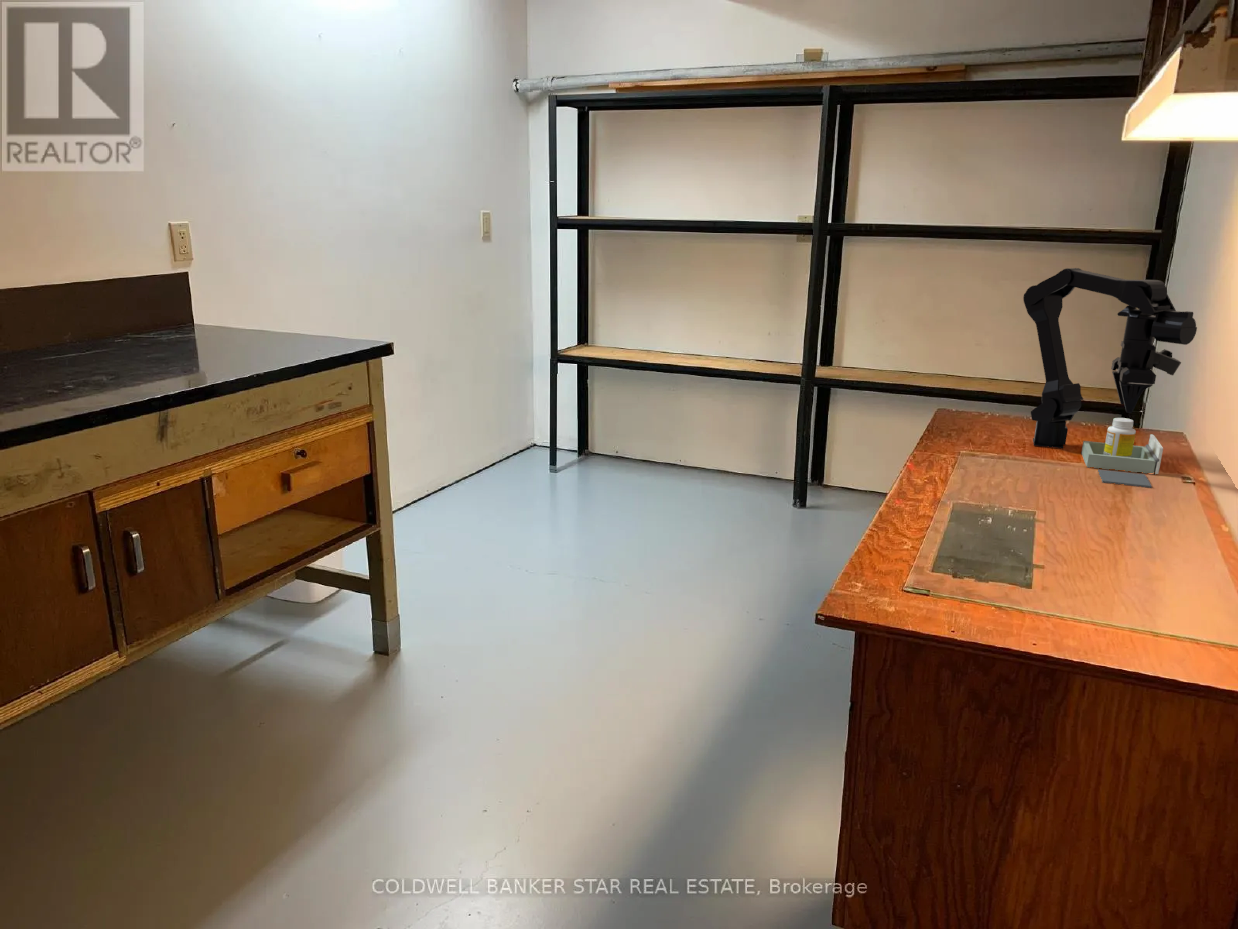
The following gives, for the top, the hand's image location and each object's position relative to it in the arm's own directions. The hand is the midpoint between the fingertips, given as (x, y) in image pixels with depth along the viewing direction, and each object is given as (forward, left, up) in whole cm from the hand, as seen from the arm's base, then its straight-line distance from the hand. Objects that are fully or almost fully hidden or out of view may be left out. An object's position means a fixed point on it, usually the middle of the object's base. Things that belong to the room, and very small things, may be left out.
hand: (1126, 408), depth 192 cm
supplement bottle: (0, 0, -13) cm, 13 cm away
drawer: (0, 0, -13) cm, 13 cm away
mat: (0, -13, -13) cm, 19 cm away
